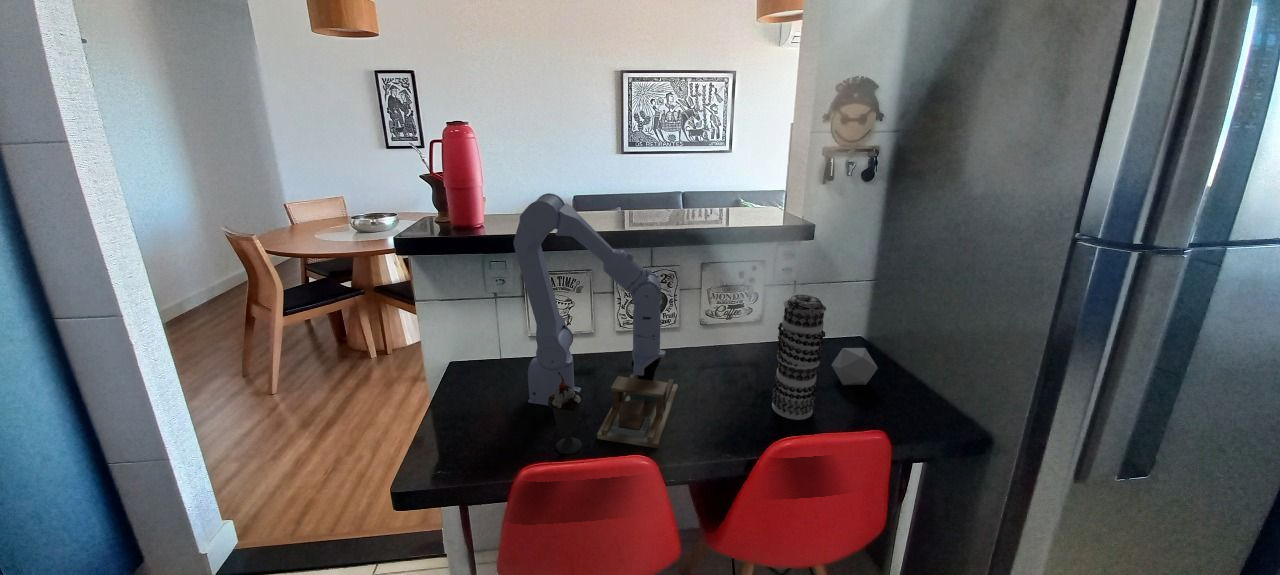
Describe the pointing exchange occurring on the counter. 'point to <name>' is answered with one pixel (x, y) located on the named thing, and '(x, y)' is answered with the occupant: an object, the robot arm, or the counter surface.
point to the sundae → (566, 416)
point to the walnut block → (631, 415)
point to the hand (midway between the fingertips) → (646, 388)
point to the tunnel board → (651, 409)
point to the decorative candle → (798, 356)
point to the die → (854, 366)
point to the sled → (645, 424)
